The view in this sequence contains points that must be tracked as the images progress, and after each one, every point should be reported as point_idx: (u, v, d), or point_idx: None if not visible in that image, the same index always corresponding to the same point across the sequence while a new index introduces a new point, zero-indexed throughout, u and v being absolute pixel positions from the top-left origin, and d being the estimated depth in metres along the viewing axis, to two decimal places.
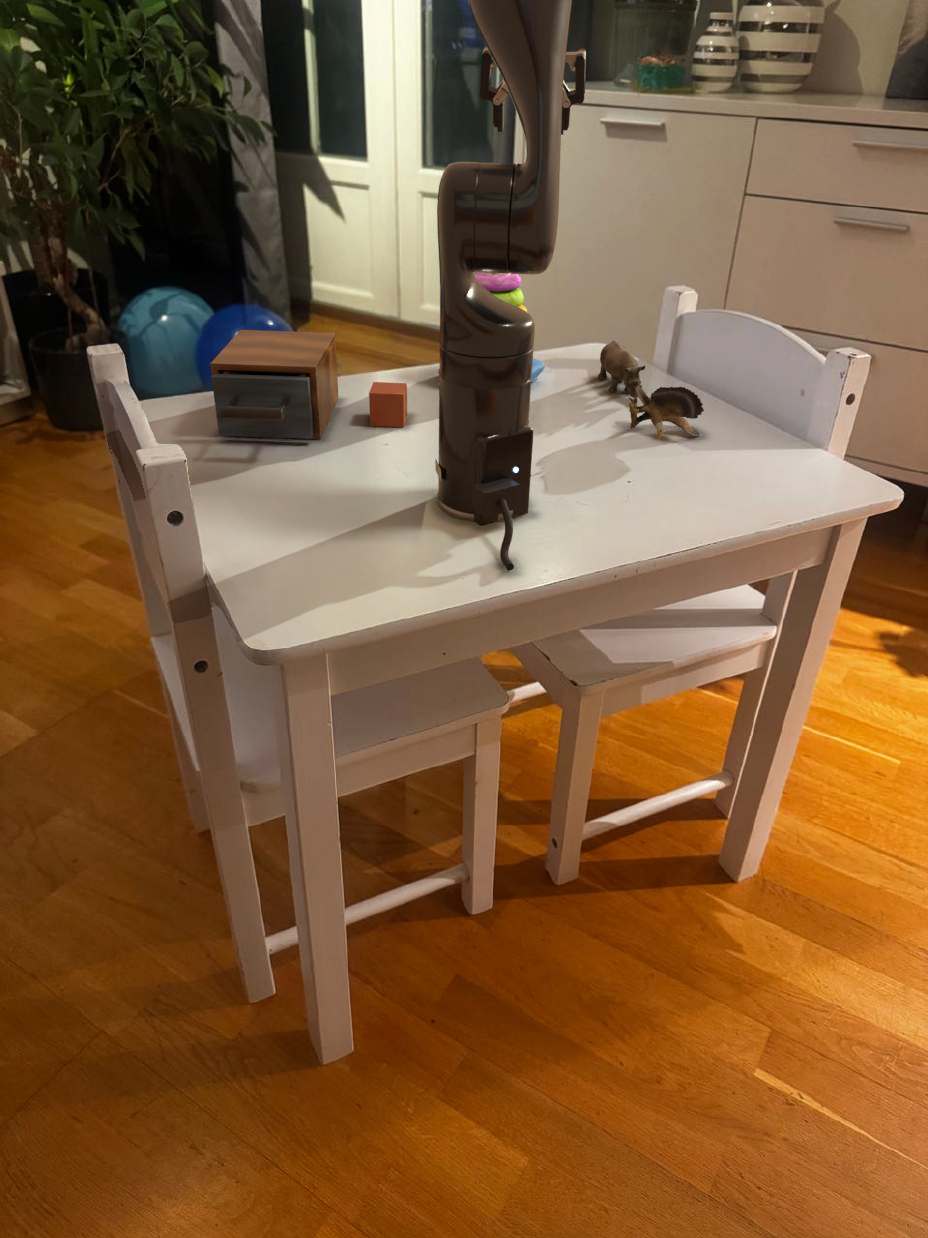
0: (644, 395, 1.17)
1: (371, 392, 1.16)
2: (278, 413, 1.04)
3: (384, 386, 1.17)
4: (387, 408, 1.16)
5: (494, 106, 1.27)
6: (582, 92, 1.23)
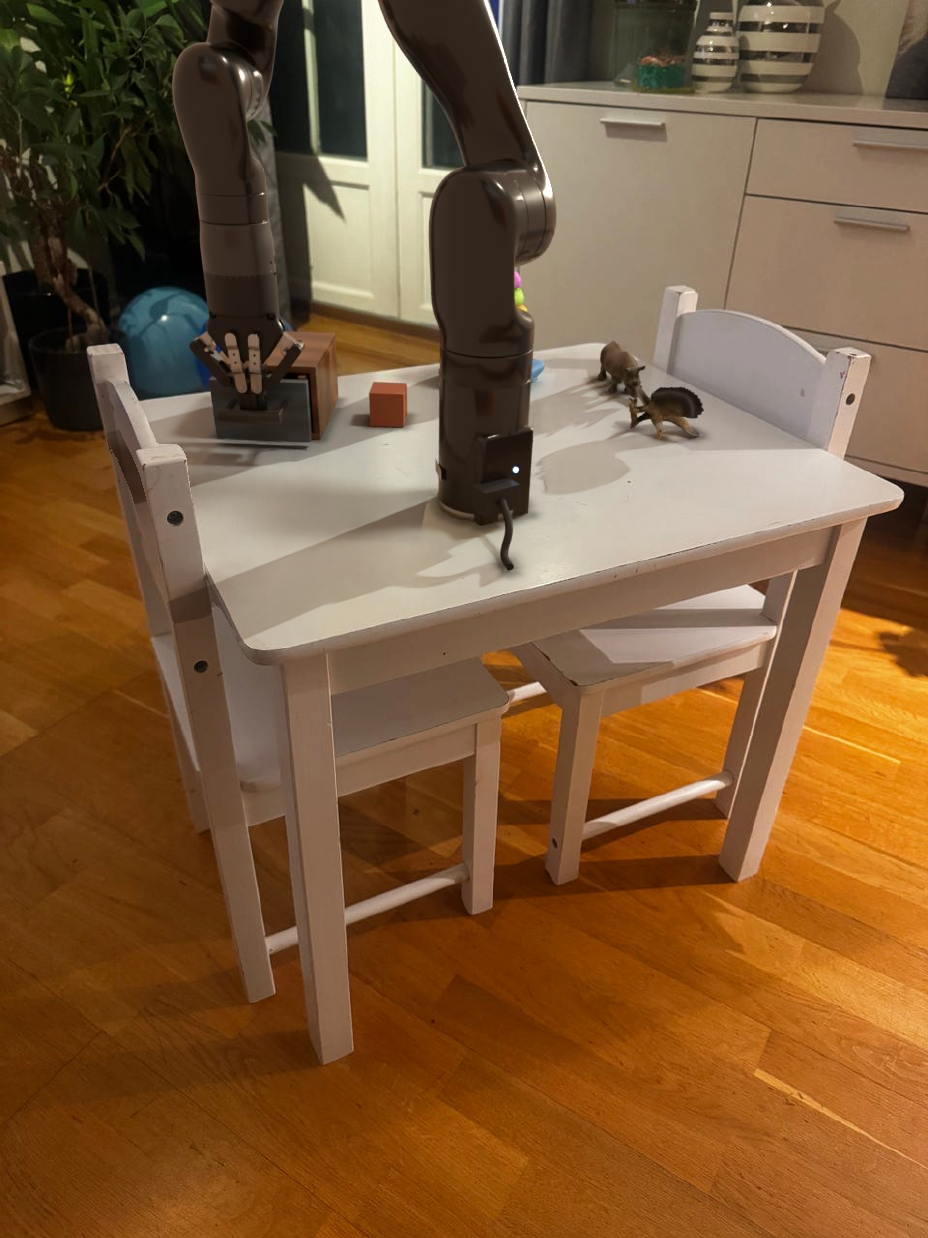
0: (644, 395, 1.17)
1: (371, 392, 1.16)
2: (276, 416, 1.03)
3: (384, 386, 1.17)
4: (387, 408, 1.16)
5: (240, 394, 1.04)
6: (278, 380, 1.02)
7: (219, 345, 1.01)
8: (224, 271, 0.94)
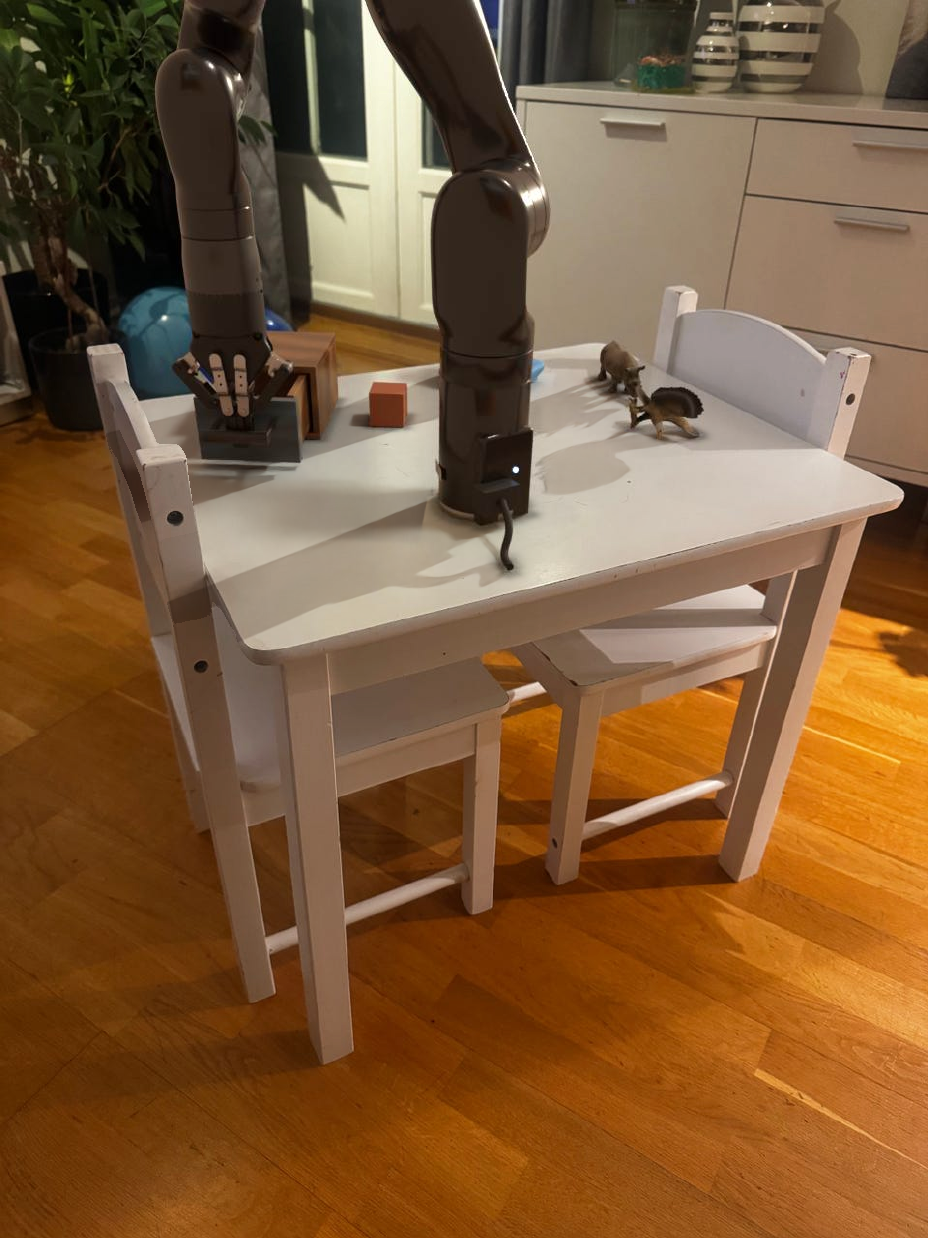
0: (644, 395, 1.17)
1: (371, 392, 1.16)
2: (263, 437, 0.98)
3: (384, 386, 1.17)
4: (387, 408, 1.16)
5: (226, 417, 0.99)
6: (266, 402, 0.97)
7: (203, 366, 0.95)
8: (207, 289, 0.89)
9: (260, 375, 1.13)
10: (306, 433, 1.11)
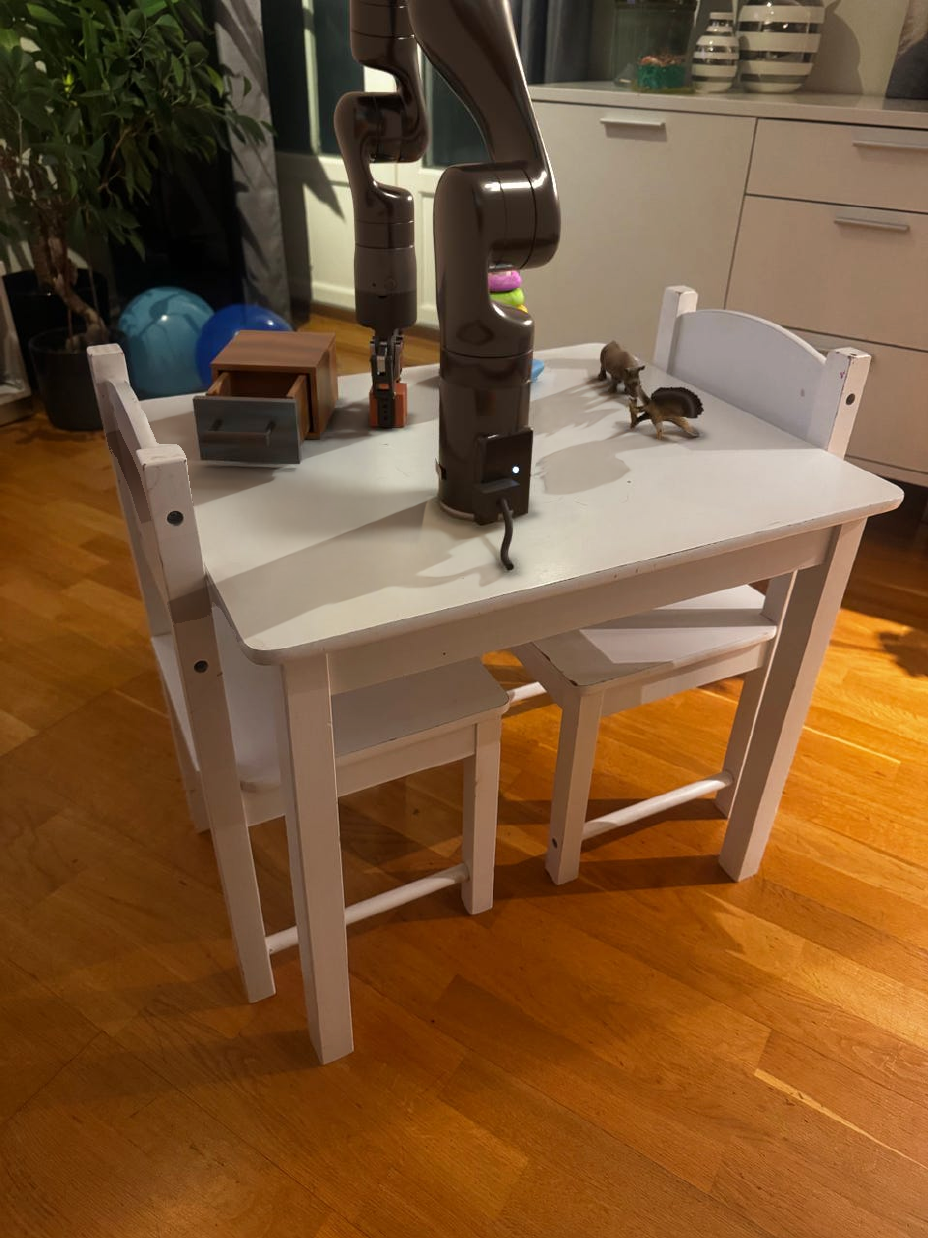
0: (644, 395, 1.17)
1: (371, 392, 1.16)
2: (263, 438, 0.98)
3: (384, 386, 1.17)
4: None
5: None
6: None
7: None
8: None
9: (260, 376, 1.12)
10: (305, 434, 1.11)
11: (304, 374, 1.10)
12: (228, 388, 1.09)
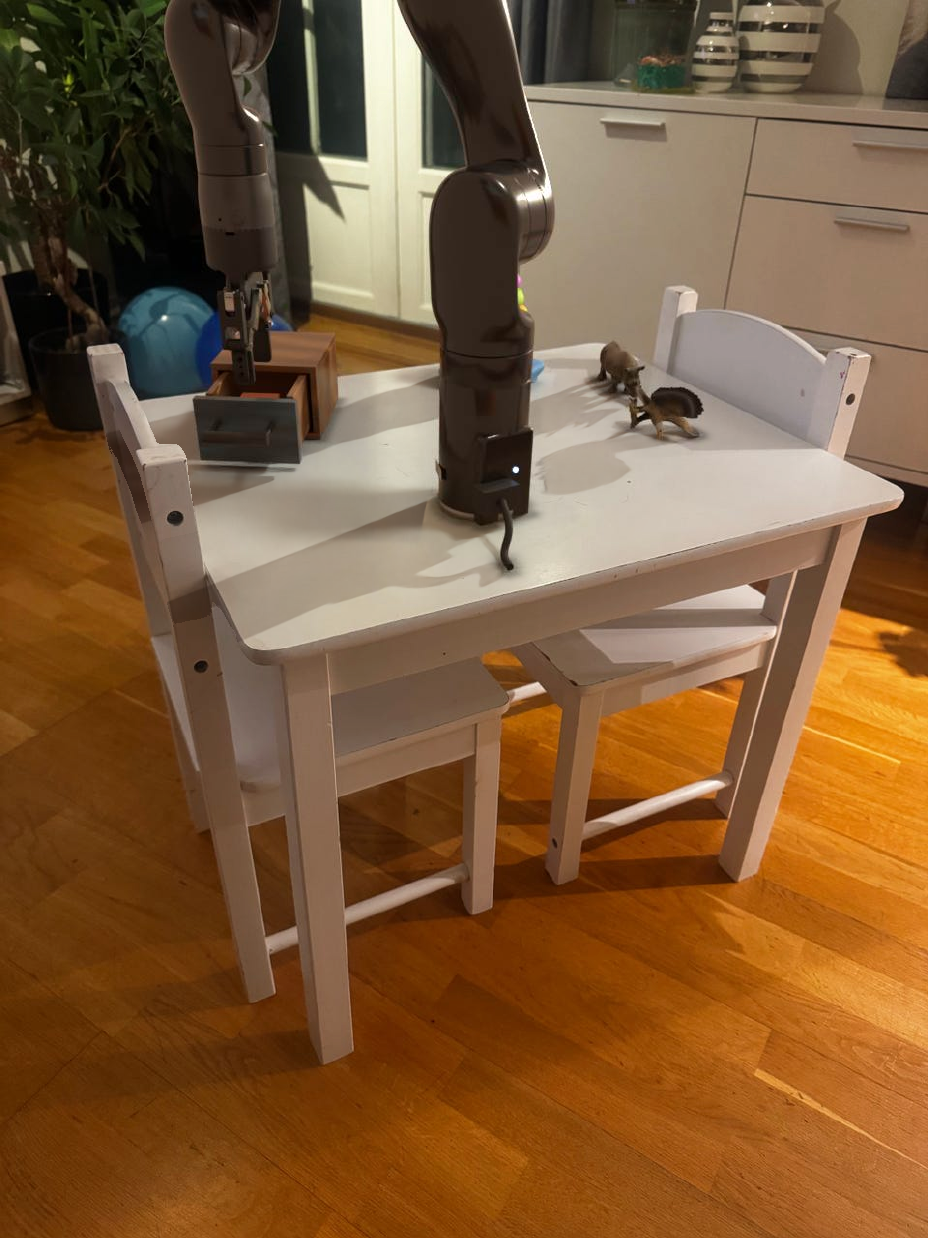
0: (644, 395, 1.17)
1: None
2: (263, 438, 0.98)
3: (253, 397, 1.07)
4: None
5: None
6: (221, 336, 0.96)
7: None
8: None
9: (260, 376, 1.12)
10: (306, 434, 1.11)
11: (304, 374, 1.10)
12: (228, 388, 1.09)
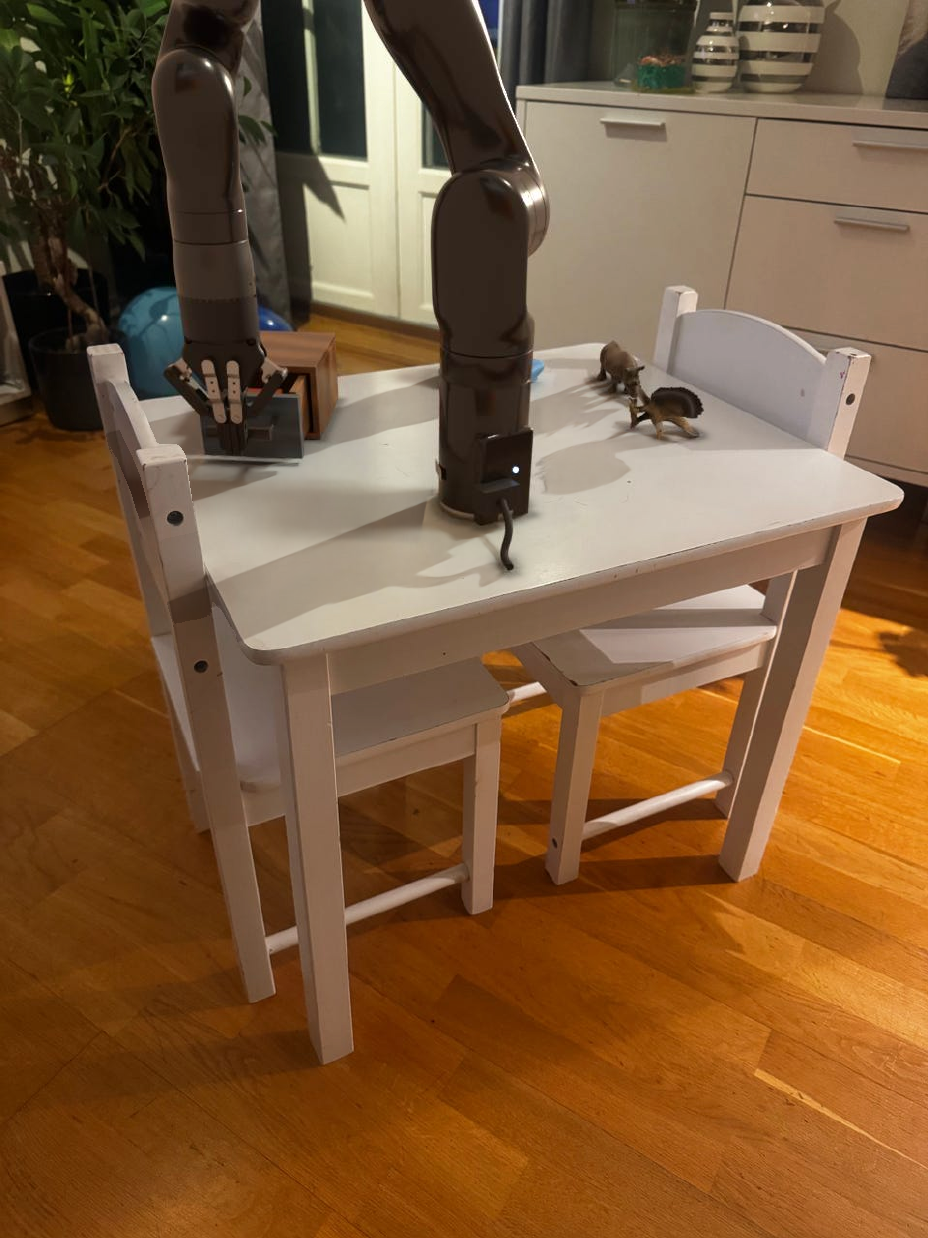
0: (644, 395, 1.17)
1: None
2: (266, 433, 0.99)
3: None
4: None
5: (218, 425, 0.97)
6: (259, 409, 0.95)
7: (196, 372, 0.93)
8: (200, 294, 0.86)
9: None
10: (308, 429, 1.12)
11: None
12: None
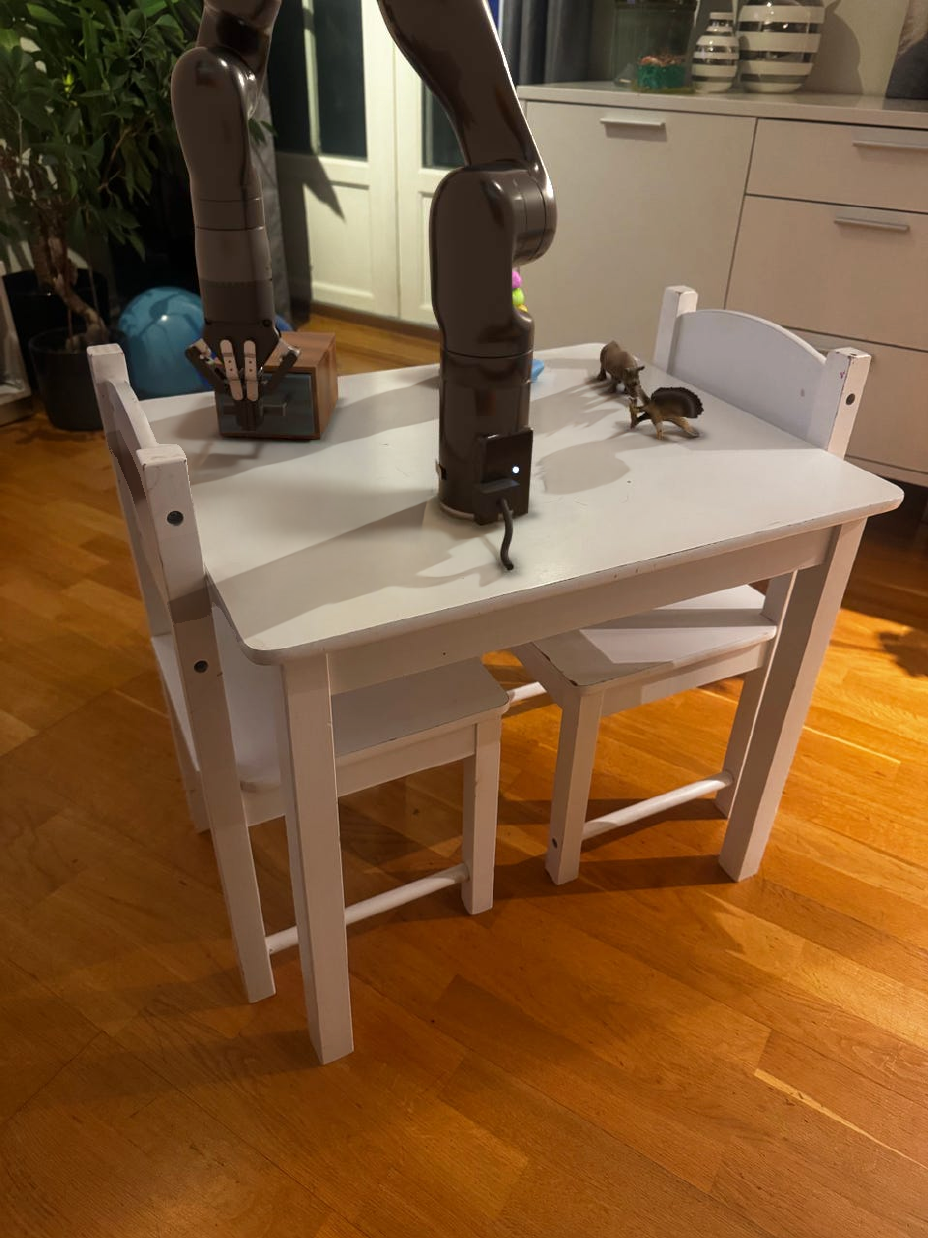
0: (644, 395, 1.17)
1: None
2: (280, 410, 1.05)
3: None
4: None
5: (235, 402, 1.03)
6: (274, 387, 1.01)
7: (214, 352, 0.99)
8: (220, 277, 0.93)
9: None
10: None
11: None
12: None
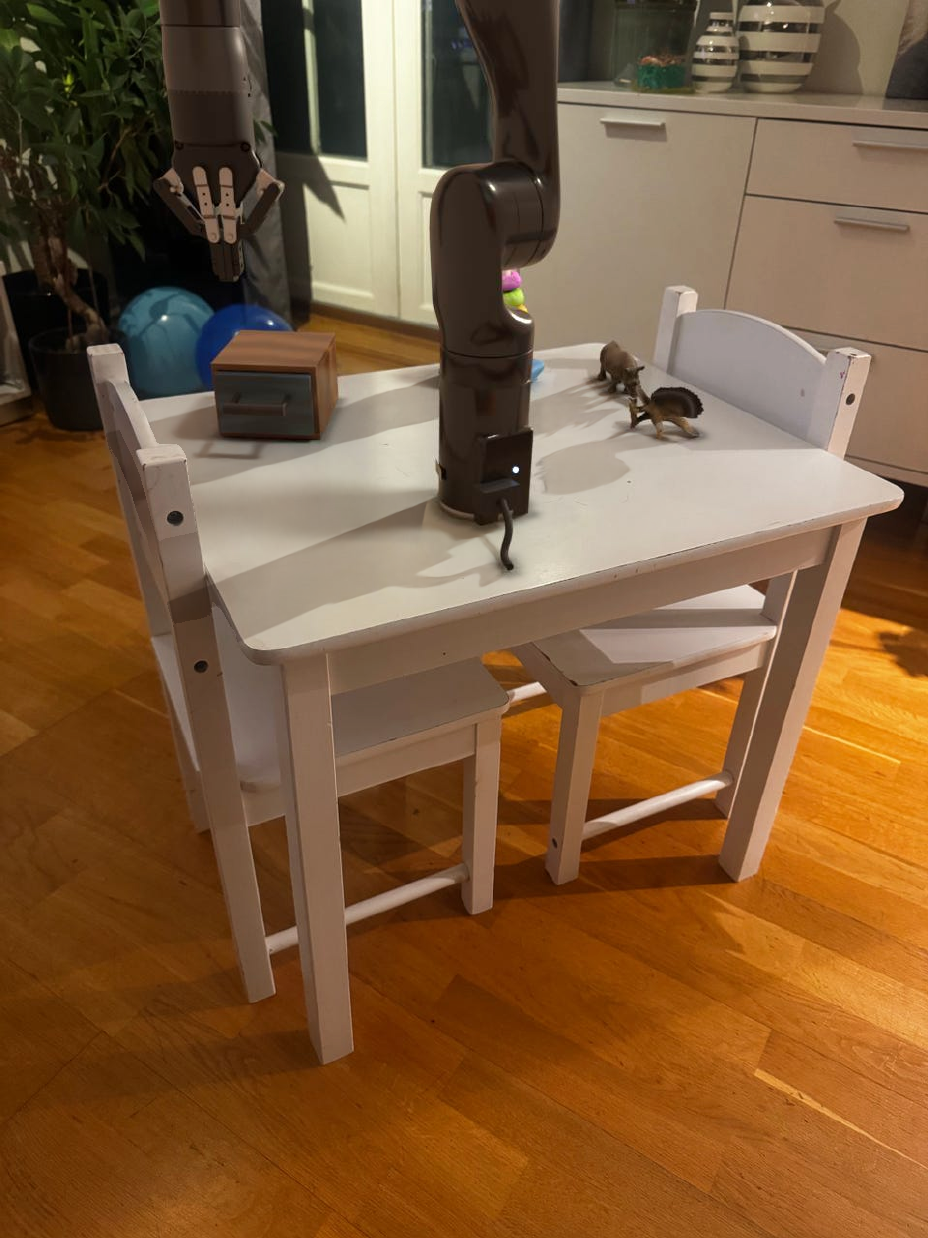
0: (644, 395, 1.17)
1: None
2: (280, 410, 1.05)
3: None
4: None
5: (211, 245, 0.92)
6: (254, 226, 0.90)
7: (187, 184, 0.88)
8: (190, 85, 0.81)
9: None
10: None
11: None
12: None
